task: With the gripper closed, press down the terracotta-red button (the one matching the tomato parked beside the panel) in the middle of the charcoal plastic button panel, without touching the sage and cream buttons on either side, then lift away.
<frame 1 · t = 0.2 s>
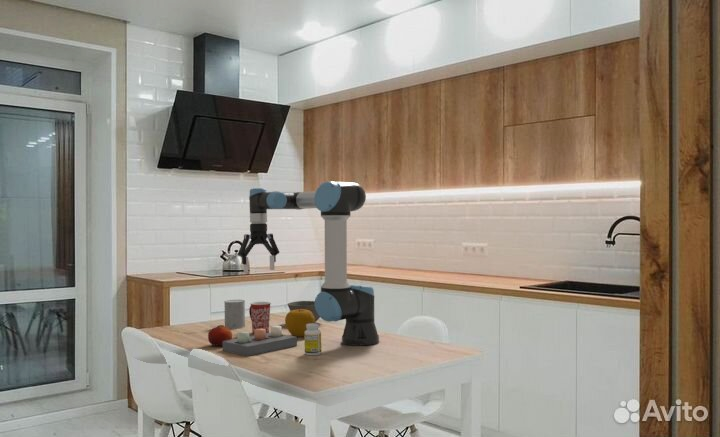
hand: (259, 271, 269), 28 cm above the table, fingers open, 13 cm apart
apple: (300, 336, 262), on the table
grey stone cylinder: (234, 327, 286), on the table
bowl: (307, 323, 293), on the table
button terracotta: (260, 334, 237), point 5 cm above the table, slide at 0.0 cm
pill bottle: (313, 354, 225), on the table
button sage: (243, 337, 231), point 5 cm above the table, slide at 0.0 cm
panel: (260, 347, 237), on the table
tomato: (220, 345, 244), on the table
button cream: (276, 331, 243), point 5 cm above the table, slide at 0.0 cm
mug: (258, 333, 270), on the table
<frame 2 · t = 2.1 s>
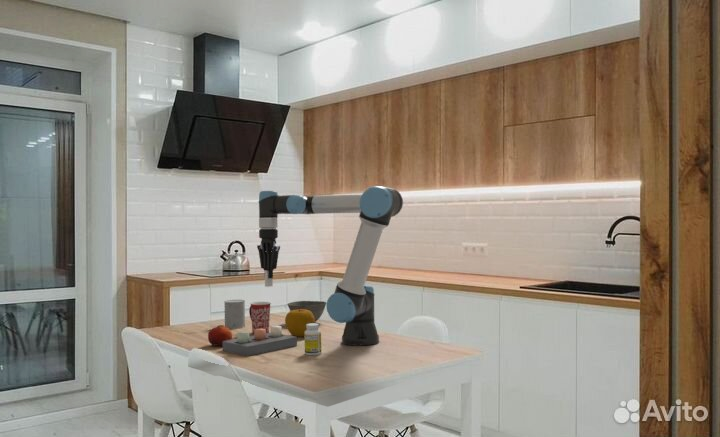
hand: (268, 286, 247), 23 cm above the table, fingers closed
nothing on the table moved.
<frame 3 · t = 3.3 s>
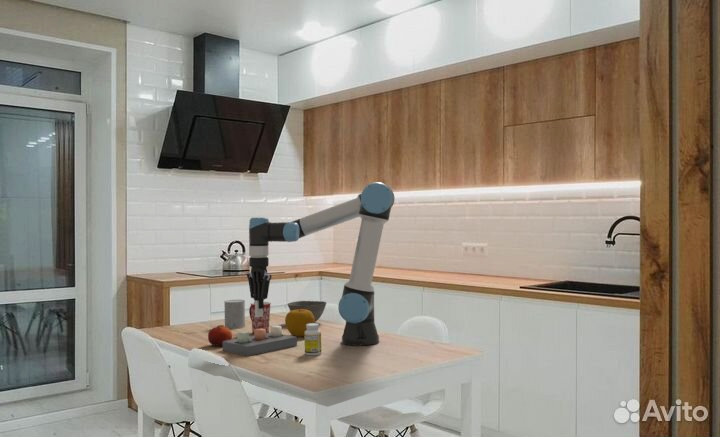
hand: (259, 316, 237), 12 cm above the table, fingers closed
nothing on the table moved.
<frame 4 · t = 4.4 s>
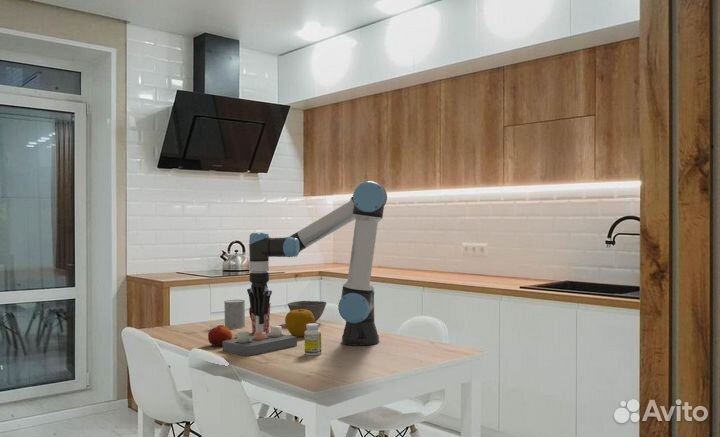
hand: (259, 332, 237), 6 cm above the table, fingers closed
button terracotta: (260, 337, 237), point 4 cm above the table, slide at 1.2 cm, touching gripper
everything else where it was.
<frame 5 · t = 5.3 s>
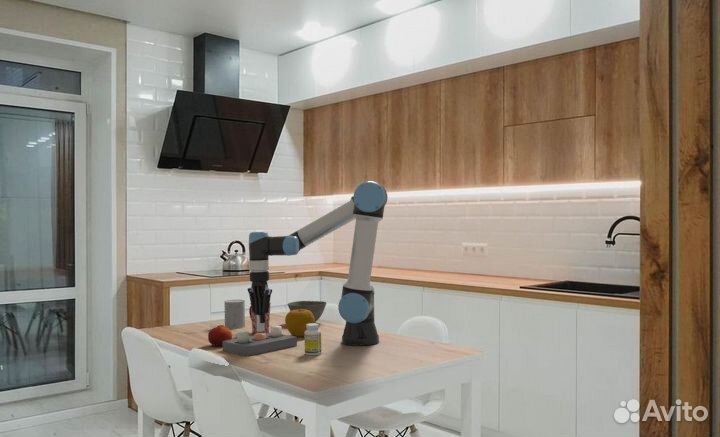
hand: (260, 331, 237), 7 cm above the table, fingers closed
button terracotta: (260, 339, 237), point 3 cm above the table, slide at 1.8 cm
everything else where it was.
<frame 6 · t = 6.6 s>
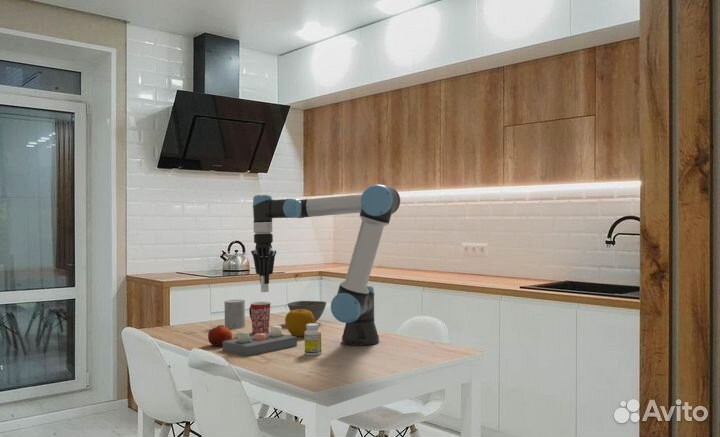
hand: (264, 291, 244), 21 cm above the table, fingers closed
nothing on the table moved.
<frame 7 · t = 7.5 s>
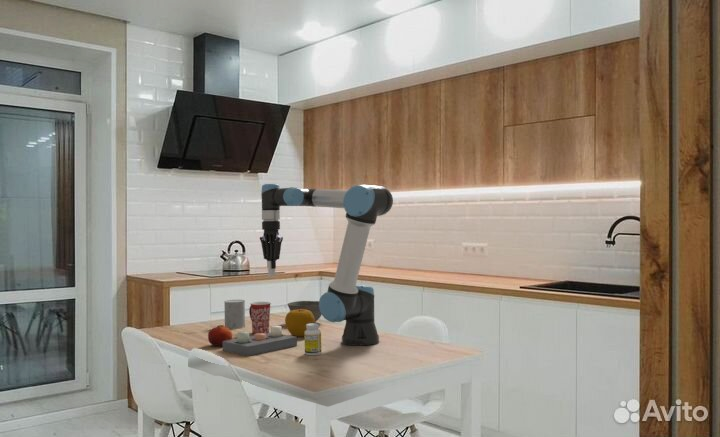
hand: (271, 276, 256), 26 cm above the table, fingers closed
nothing on the table moved.
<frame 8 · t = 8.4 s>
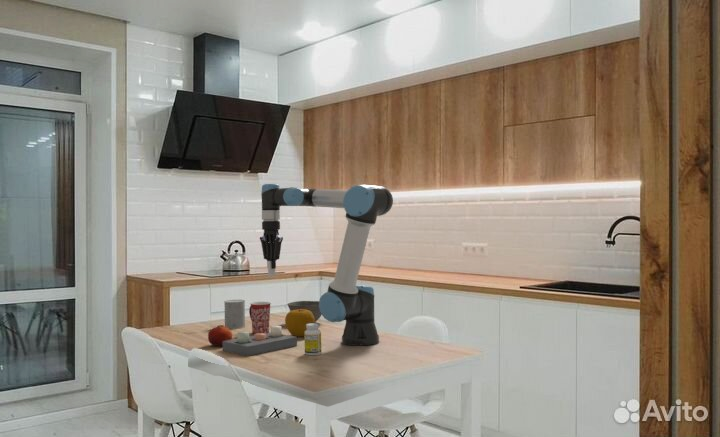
hand: (271, 276, 256), 26 cm above the table, fingers closed
nothing on the table moved.
at the end: button terracotta slide at 1.8 cm; button cream slide at 0.0 cm; button sage slide at 0.0 cm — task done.
